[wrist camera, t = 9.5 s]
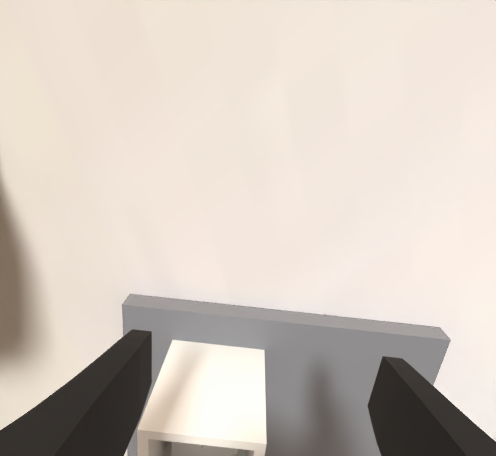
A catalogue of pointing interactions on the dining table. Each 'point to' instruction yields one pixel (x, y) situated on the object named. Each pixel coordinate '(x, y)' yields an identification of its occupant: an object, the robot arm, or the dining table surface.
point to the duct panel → (296, 365)
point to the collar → (206, 400)
